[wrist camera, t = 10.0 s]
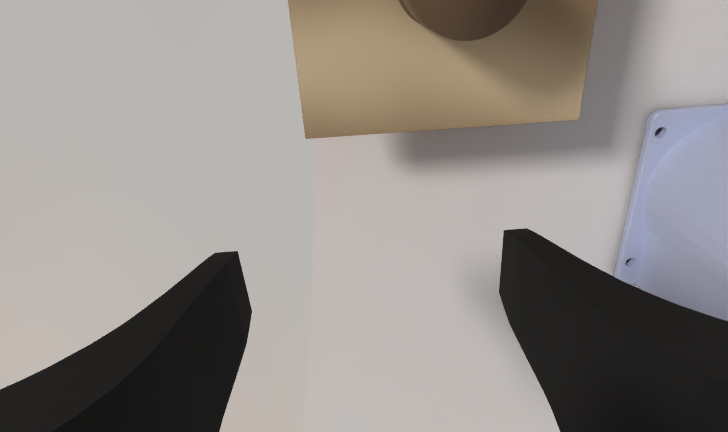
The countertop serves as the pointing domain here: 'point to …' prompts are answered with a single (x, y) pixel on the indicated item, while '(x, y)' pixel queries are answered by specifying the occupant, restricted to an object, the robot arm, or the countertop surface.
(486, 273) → the countertop surface
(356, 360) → the countertop surface
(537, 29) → the lid
